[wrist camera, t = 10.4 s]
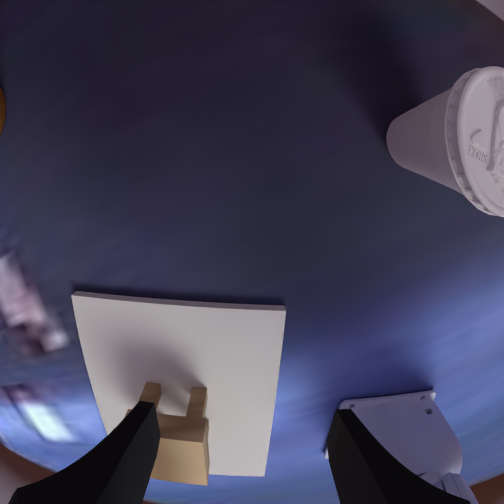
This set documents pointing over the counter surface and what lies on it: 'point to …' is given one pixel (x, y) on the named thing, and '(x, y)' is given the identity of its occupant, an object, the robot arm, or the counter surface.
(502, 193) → the smoothie
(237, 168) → the counter surface
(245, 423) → the cutting board
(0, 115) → the disposable coffee cup
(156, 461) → the stool
